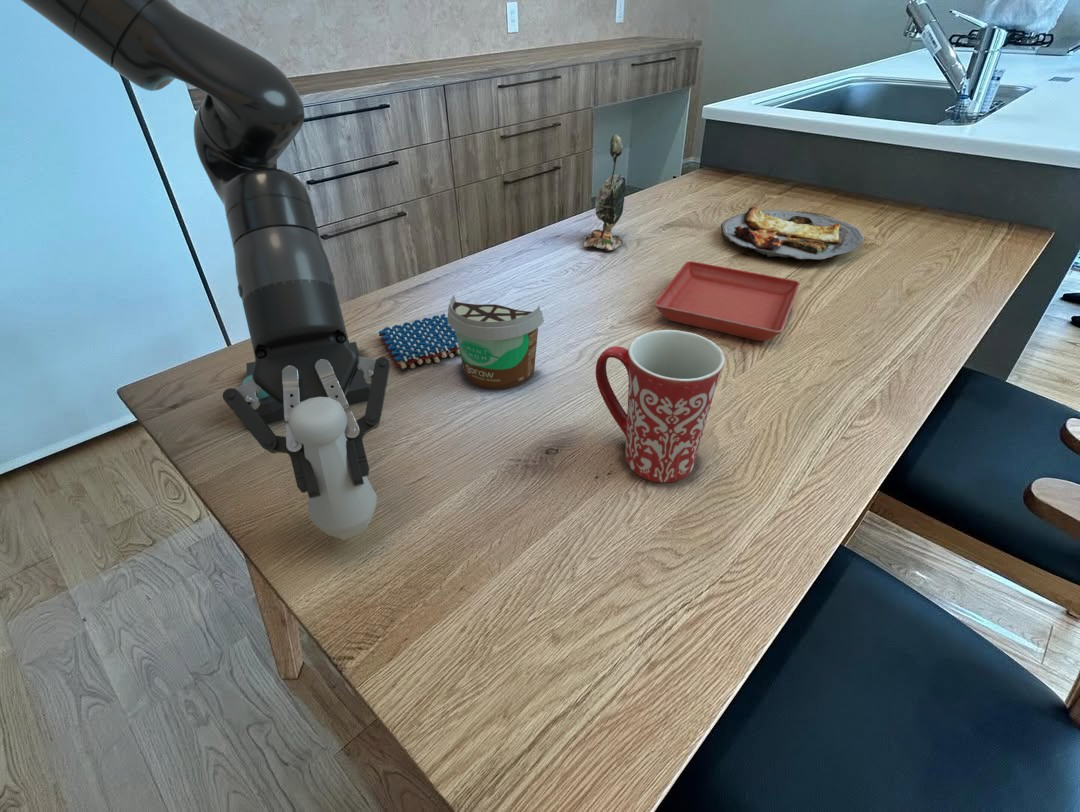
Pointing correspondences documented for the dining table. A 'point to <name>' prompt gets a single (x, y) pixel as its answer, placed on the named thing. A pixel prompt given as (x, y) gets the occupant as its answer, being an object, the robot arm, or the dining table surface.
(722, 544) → the dining table surface
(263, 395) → the button
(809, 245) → the food plate
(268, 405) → the scale
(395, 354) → the woven mat
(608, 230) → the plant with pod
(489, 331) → the food container
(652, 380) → the mug
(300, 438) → the salt shaker
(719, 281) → the plant saucer
